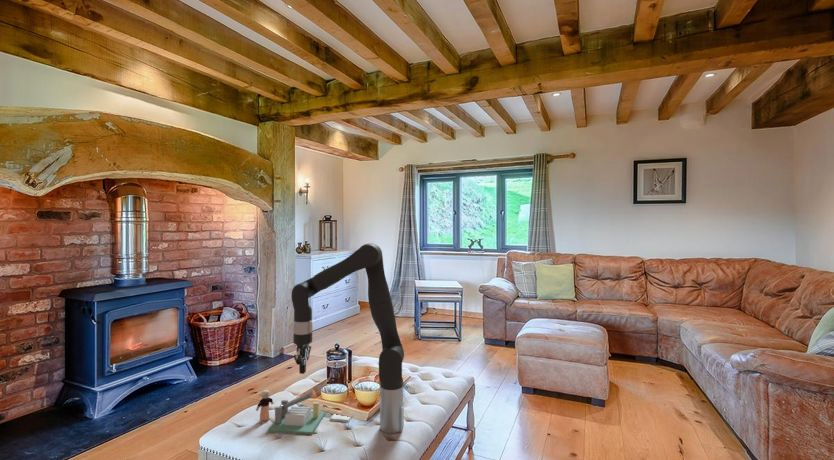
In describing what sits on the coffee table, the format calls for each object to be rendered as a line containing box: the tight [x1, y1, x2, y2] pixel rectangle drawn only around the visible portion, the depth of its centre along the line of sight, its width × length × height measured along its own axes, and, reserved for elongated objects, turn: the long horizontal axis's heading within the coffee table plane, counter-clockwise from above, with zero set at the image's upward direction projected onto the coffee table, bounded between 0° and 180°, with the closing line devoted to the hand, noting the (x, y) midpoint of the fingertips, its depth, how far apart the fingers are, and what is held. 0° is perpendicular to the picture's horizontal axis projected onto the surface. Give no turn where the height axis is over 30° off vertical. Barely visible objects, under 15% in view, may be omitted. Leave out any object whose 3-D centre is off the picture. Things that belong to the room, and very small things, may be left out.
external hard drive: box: [329, 413, 352, 423], centre depth 167 cm, size 2×8×12 cm
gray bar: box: [278, 389, 314, 410], centre depth 159 cm, size 16×4×2 cm, turn 84°
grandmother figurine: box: [255, 389, 274, 424], centre depth 161 cm, size 8×4×13 cm, turn 153°
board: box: [267, 399, 326, 435], centre depth 159 cm, size 18×16×8 cm
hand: (302, 372), depth 159 cm, fingers closed
